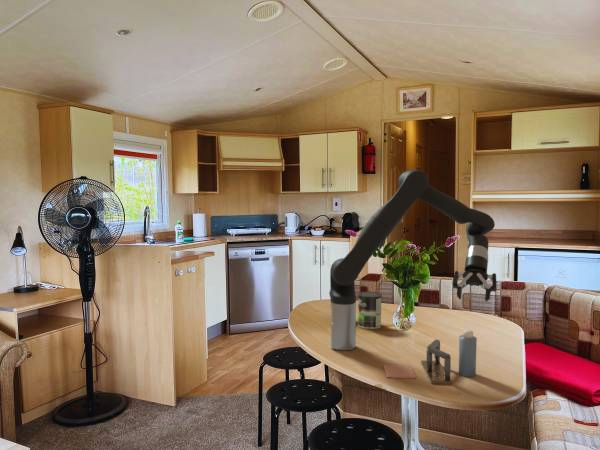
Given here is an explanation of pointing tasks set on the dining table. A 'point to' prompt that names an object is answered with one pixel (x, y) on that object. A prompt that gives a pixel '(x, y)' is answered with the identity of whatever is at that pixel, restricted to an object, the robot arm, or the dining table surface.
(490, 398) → the dining table surface
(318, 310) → the dining table surface
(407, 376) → the mat
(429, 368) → the dark grey frame
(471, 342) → the bottle
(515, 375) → the dining table surface
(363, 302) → the coffee can
